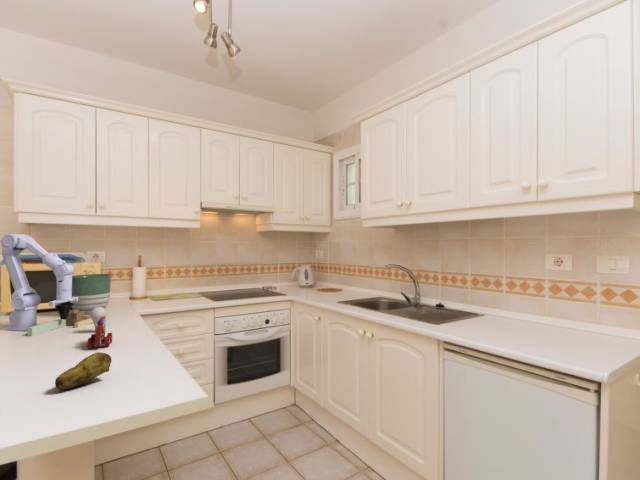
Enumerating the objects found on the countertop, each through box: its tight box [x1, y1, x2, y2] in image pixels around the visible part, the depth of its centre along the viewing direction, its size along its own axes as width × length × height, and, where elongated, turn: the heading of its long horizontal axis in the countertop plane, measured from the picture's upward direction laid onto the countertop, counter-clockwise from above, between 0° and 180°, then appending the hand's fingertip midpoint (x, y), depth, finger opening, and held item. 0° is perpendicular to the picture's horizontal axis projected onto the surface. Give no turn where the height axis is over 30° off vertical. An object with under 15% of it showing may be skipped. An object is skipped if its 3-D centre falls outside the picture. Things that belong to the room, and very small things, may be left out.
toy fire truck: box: [86, 316, 113, 350], centre depth 132 cm, size 7×12×10 cm, turn 23°
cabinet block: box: [65, 309, 84, 327], centre depth 165 cm, size 5×5×7 cm
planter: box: [70, 273, 112, 315], centre depth 189 cm, size 20×20×21 cm
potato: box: [54, 352, 112, 390], centre depth 96 cm, size 8×13×8 cm, turn 122°
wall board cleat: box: [27, 315, 94, 337], centre depth 158 cm, size 10×26×4 cm, turn 176°
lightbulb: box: [90, 307, 108, 331], centre depth 151 cm, size 6×6×11 cm
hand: (63, 319), depth 159 cm, fingers closed
